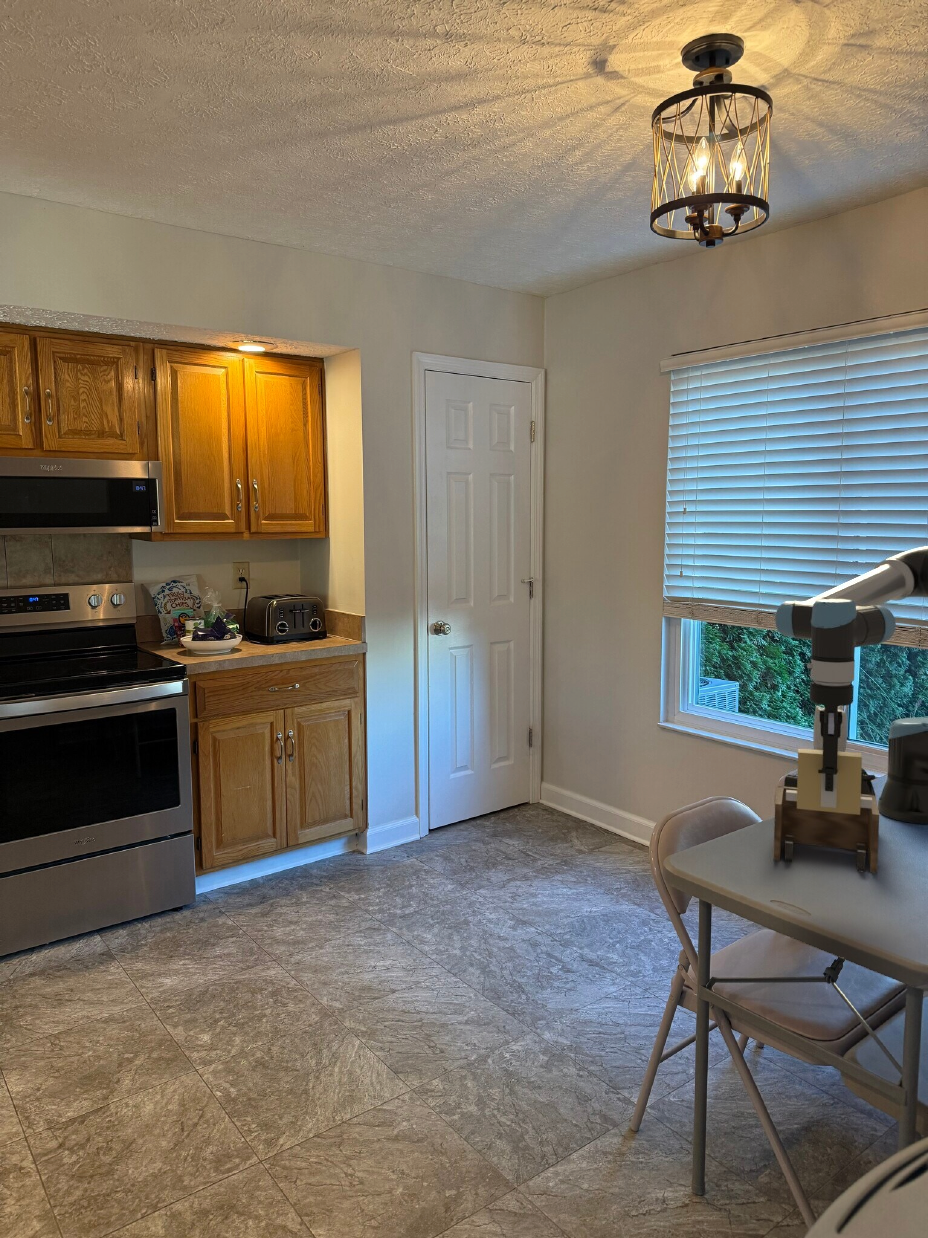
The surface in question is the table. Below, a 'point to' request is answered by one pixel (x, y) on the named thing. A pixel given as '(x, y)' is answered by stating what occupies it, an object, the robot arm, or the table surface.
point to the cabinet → (826, 829)
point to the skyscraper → (817, 731)
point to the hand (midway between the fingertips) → (828, 803)
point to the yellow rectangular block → (846, 783)
